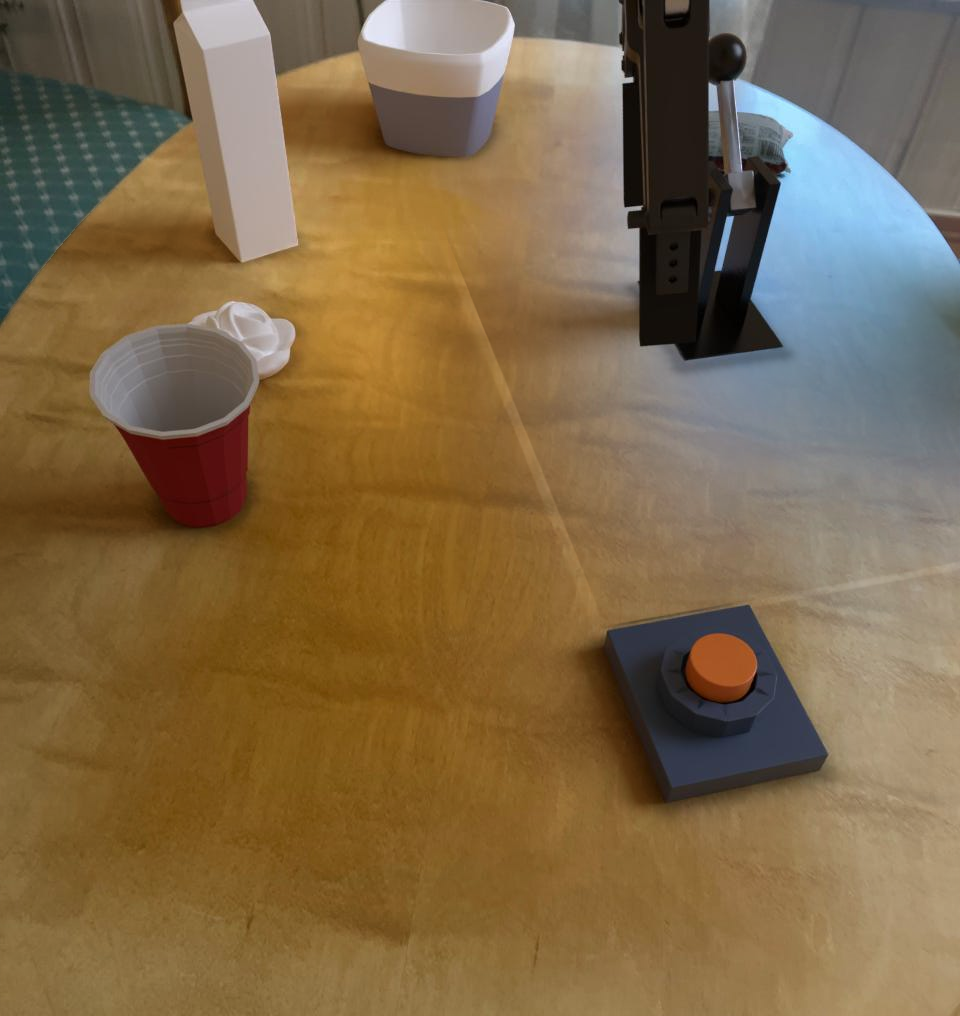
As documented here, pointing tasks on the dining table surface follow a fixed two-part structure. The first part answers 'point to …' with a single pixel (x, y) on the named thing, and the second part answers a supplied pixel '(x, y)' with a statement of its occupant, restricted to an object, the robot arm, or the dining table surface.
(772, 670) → the button box
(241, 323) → the rose
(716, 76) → the lever
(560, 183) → the dining table surface
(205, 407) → the plastic cup
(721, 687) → the button
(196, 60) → the milk
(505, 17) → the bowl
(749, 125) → the packaged food
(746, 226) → the bracket
